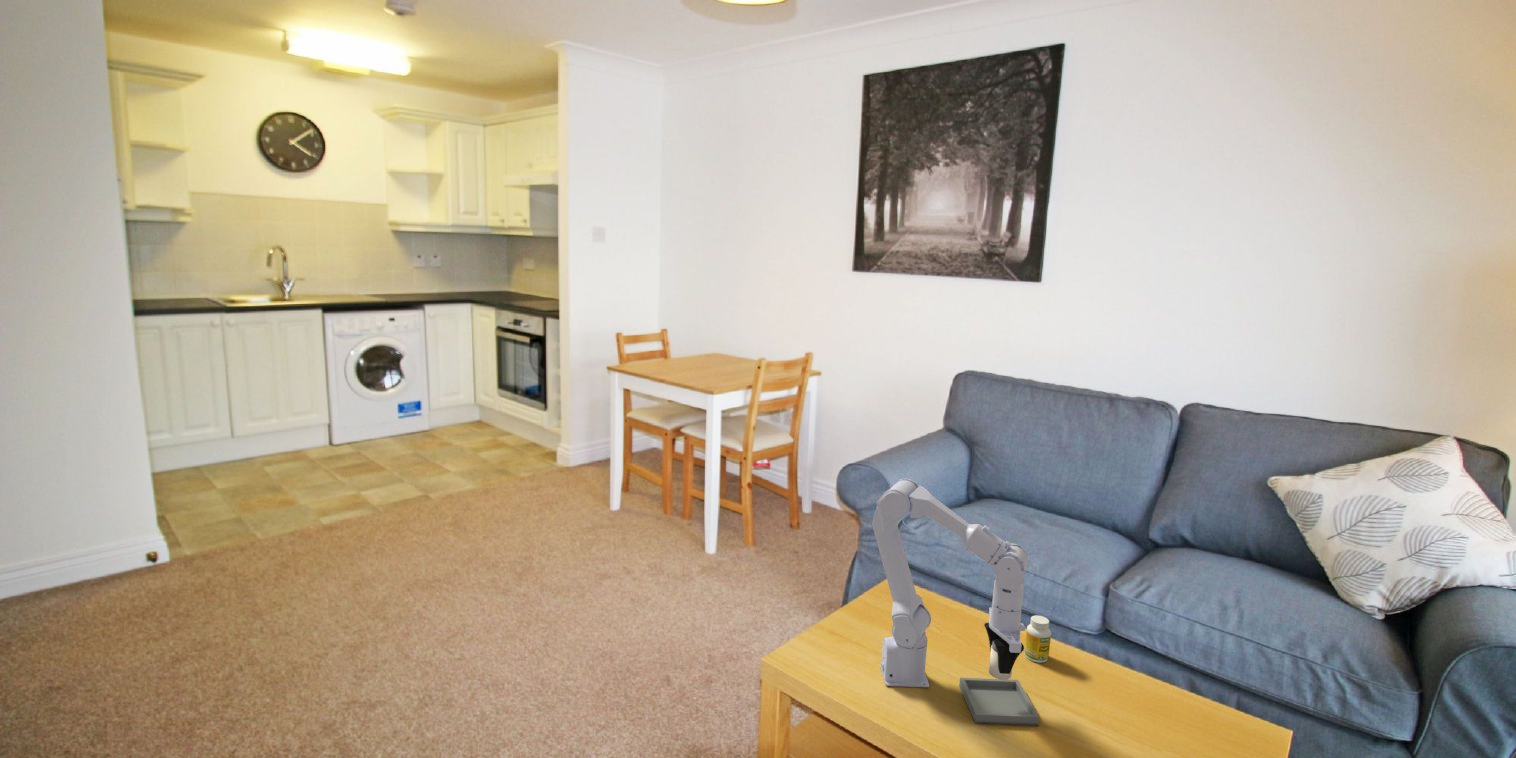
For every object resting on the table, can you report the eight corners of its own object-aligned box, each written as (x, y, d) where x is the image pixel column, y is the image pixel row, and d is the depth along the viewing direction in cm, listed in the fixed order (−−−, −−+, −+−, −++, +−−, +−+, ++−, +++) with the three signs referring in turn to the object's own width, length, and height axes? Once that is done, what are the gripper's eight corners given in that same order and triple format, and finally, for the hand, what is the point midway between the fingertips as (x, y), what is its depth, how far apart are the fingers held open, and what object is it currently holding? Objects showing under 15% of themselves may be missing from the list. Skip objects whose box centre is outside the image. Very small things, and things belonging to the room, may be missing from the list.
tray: (975, 723, 145) (976, 714, 145) (959, 685, 157) (959, 677, 157) (1038, 725, 145) (1039, 717, 145) (1017, 688, 157) (1018, 679, 157)
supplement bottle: (1033, 648, 173) (1037, 611, 172) (1053, 659, 169) (1057, 621, 167) (1019, 654, 170) (1023, 617, 169) (1038, 666, 166) (1043, 627, 164)
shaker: (992, 679, 148) (995, 650, 147) (986, 666, 152) (988, 638, 151) (1014, 679, 148) (1017, 650, 147) (1007, 667, 152) (1010, 639, 151)
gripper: (1039, 623, 140) (1032, 687, 143) (1014, 588, 155) (1008, 647, 157) (1003, 622, 140) (996, 685, 143) (981, 587, 155) (976, 645, 157)
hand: (1000, 665), depth 150 cm, fingers closed on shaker, 4 cm apart
